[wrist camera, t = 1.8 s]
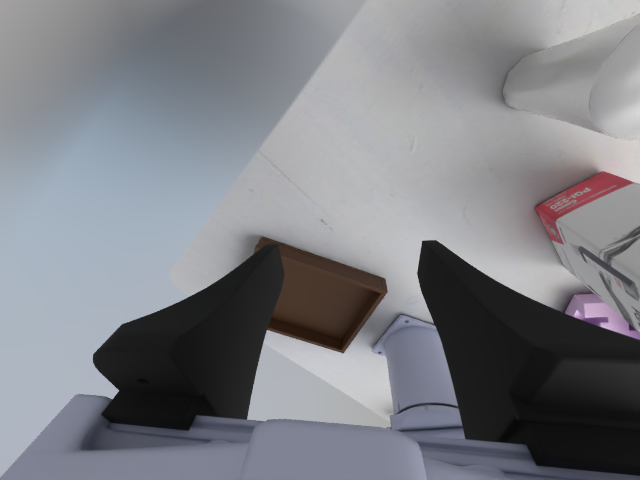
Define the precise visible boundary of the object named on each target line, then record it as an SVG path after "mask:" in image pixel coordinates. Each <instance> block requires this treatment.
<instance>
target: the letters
mask: <svg viewBox="0 0 640 480" xmlns="http://www.w3.org/2000/svg"><path fill="white" fill-rule="evenodd" d="M565 314H568V315H570V316H573V317H575V318H578V319H580V320H583V321H586V322H588V323H591V324H594V325H597V326H600V327H603V328H606V329H609V330H612V331H615V332H618V333H621V334H624V335H627V336H630V337H633V338H636V339H639V340H640V333H639V332H638V331H637V330H636V329H635V328H634V327H633V326H631V325H630V324H629V323H628V322H627V321H626V320H624V319H623V318H622V317H621V316H620V315H619V314H618V313H616V312H615V311H614V310H613V309H612V308H611V307H609V306H608V305H607V304H606V303H605V302H604V301H603V300H601V299H600V298H599V297H598V296H597V295H596V294H579V295H574V296H573V298H572V300H571V302H570V304H569V306H568V308H567V310H566V312H565Z"/></svg>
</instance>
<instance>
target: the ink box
mask: <svg viewBox="0 0 640 480" xmlns="http://www.w3.org/2000/svg"><path fill="white" fill-rule="evenodd" d="M535 209H536V211H537V213H538V215H539V217H540V219H541V221H542V223H543V225H544V227H545V229H546V231H547V233H548V235H549V237H550V239H551V241H552V243H553V245H554V247H555V249H556V251H557V253H558V255H559V257H560V259H561V261H562V263H563V265H564V267H565V268H566V269H567V270H568V271H569V272H570V273H571V274H572V275H574V276H575V277H576V278H577V279H578V280H579V281H581V282H582V283H583V284H584V285H585V286H586V287H588V288H589V289H590V290H591V291H592V292H593V293H594V294H596V295H597V296H598V297H599V298H600V299H601V300H603V301H604V302H605V303H606V304H607V305H608V306H609V307H611V308H612V309H613V310H614V311H615V312H616V313H618V314H619V315H620V316H621V317H622V318H623V319H624V320H626V321H627V322H628V323H629V324H630V325H631V326H633V327H634V328H635V329H636V330H637V331H638V332H639V333H640V184H638V183H635V182H632V181H629V180H626V179H624V178H621V177H618V176H616V175H613V174H610V173H607V172H600V173H598V174H596V175H594V176H593V177H591V178H589V179H587V180H585V181H583V182H581V183H579V184H577V185H575V186H573V187H571V188H569V189H567V190H565V191H563V192H561V193H559V194H558V195H556V196H554V197H552V198H550V199H548V200H547V201H545V202H543V203H541V204H540V205H538V206H536V208H535Z"/></svg>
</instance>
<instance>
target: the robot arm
mask: <svg viewBox="0 0 640 480" xmlns="http://www.w3.org/2000/svg"><path fill="white" fill-rule="evenodd" d="M417 275H418V279H419V283H420V287H421V291H422V294H423V297H424V299H425V302H426V304H427V307H428V309H429V312H430V314H431V317H432V319H433V321H434V324H435V325H432V324H429V323H426V322H423V321H420V320H417V319H414V318H411V317H408V316H405V315H400V316H399V317H398V318H397V319H396V320H395V322H394V323H393V324H392V325H391V326H390V328H389V329H388V330H387V331H386V332H385V334H384V335H383V336H382V337H381V339H380V340H379V341H378V342H377V343H376V345H375V346H374V347H373V348H372V351H373V353H376V354H379V355H382V356H385V357H386V358H387V365H388V372H389V380H390V387H391V394H392V401H393V409H394V415H391V416H390V421H391V427H387V428H380V427H371V426H360V425H347V424H337V423H325V422H313V421H302V420H291V419H274V420H267V421H255V420H247V416H248V410H249V404H250V399H251V394H252V389H253V384H254V379H255V375H256V370H257V366H258V361H259V357H260V353H261V349H262V345H263V341H264V338H265V334H266V331H267V328H268V325H269V322H270V320H271V317H272V314H273V312H274V309H275V306H276V304H277V301H278V298H279V296H280V293H281V290H282V285H283V281H284V276H285V273H284V268H283V264H282V259H281V255H280V250H279V246H278V244H266V245H265V246H264V247H262V248H261V249H260V250H258V251H257V252H256V253H255V254H253V255H252V256H251V257H250V258H248V259H247V260H246V261H245V262H243V263H242V264H241V265H240V266H238V267H237V268H235V269H234V270H233V271H231V272H230V273H229V274H227V275H226V276H224V277H223V278H221V279H220V280H218V281H217V282H215V283H214V284H212V285H210V286H209V287H207V288H205V289H203V290H202V291H200V292H198V293H196V294H194V295H192V296H190V297H188V298H187V299H184V300H182V301H180V302H178V303H176V304H174V305H171V306H169V307H167V308H164V309H162V310H160V311H157V312H155V313H152V314H150V315H147V316H144V317H141V318H139V319H136V320H133V321H130V322H128V323H125V324H122V325H121V326H120V327H119V328H118V329H117V330H116V331H115V332H114V333H113V334H112V335H111V336H110V338H109V339H108V340H107V341H106V342H105V343H104V344H103V345H102V346H101V347H100V348H99V349H98V350H97V351H96V352H95V353H94V354H93V363H94V365H95V367H96V368H97V369H98V370H99V372H100V373H102V375H103V376H105V377H106V378H107V379H108V380H109V381H110V382H111V383H112V384H113V385H114V386H115V387H116V388H117V389H118V390H120V391H119V392H118V393H117V394H116V396H115V397H114V399H113V400H112V399H110V398H108V397H103V396H96V395H83V394H78V395H75V396H74V397H73V398H72V399H71V401H70V402H69V403H68V404H67V405H66V406H65V407H64V408H63V409H62V410H61V412H60V413H59V414H58V415H57V416H56V417H55V418H54V419H53V420H52V421H51V423H50V424H49V425H48V426H47V427H46V428H45V429H44V430H43V431H42V432H41V433H40V435H39V436H38V437H37V438H36V439H35V440H34V441H33V442H32V443H31V445H30V446H29V447H28V448H27V449H26V450H25V451H24V452H23V453H22V454H21V456H20V457H19V458H18V459H17V460H16V461H15V462H14V463H13V464H12V465H11V467H10V468H9V469H8V470H7V471H6V472H5V473H4V474H3V475H2V476H1V478H0V480H640V340H639V339H636V338H633V337H630V336H627V335H624V334H621V333H618V332H615V331H612V330H609V329H606V328H603V327H600V326H597V325H594V324H591V323H588V322H586V321H583V320H580V319H578V318H575V317H573V316H570V315H568V314H565V313H562V312H560V311H558V310H555V309H553V308H550V307H548V306H546V305H543V304H541V303H539V302H537V301H535V300H532V299H530V298H528V297H526V296H524V295H522V294H520V293H518V292H516V291H514V290H512V289H510V288H508V287H506V286H504V285H503V284H501V283H499V282H497V281H495V280H494V279H492V278H490V277H489V276H487V275H485V274H484V273H482V272H481V271H479V270H477V269H476V268H474V267H473V266H471V265H470V264H469V263H467V262H466V261H464V260H463V259H461V258H460V257H459V256H457V255H456V254H454V253H453V252H452V251H450V250H449V249H448V248H446V247H445V246H444V245H442V244H441V243H439V242H438V241H436V240H429V241H422V247H421V253H420V260H419V266H418V272H417Z"/></svg>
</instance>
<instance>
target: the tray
mask: <svg viewBox="0 0 640 480" xmlns="http://www.w3.org/2000/svg"><path fill="white" fill-rule="evenodd" d="M266 244H278V246H279V250H280V255H281V259H282V264H283V268H284V273H285V276H284V281H283V285H282V290H281V293H280V296H279V298H278V301H277V304H276V306H275V309H274V312H273V314H272V317H271V320H270V322H269V325H268V328H267V330H270V331H273V332H276V333H279V334H283V335H286V336H289V337H292V338H295V339H299V340H302V341H305V342H308V343H312V344H315V345H318V346H321V347H325V348H328V349H331V350H334V351H338V352H341V353H344V352H345V350H346V349H347V348H348V346H349V345H350V343H351V342H352V341H353V339H354V338H355V337H356V335H357V334H358V332H359V331H360V330H361V328H362V327H363V325H364V324H365V323H366V321H367V320H368V318H369V317H370V316H371V314H372V313H373V311H374V310H375V309H376V307H377V306H378V305H379V303H380V302H381V300H382V299H383V298H384V296H385V295H386V293H387V292H388V291H387V286H386V280H385V279H384V278H381V277H378V276H375V275H373V274H370V273H367V272H364V271H361V270H358V269H355V268H352V267H349V266H346V265H343V264H341V263H338V262H335V261H332V260H329V259H326V258H323V257H320V256H317V255H314V254H312V253H309V252H306V251H303V250H300V249H297V248H294V247H291V246H288V245H285V244H282V243H280V242H277V241H274V240H271V239H268V238H265V237H261V239H260V240H259V242H258V244H257V245H256V247H255V251H254V254H255V253H256V252H257V251H258V250H260V249H261V248H262V247H264V246H265V245H266Z"/></svg>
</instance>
